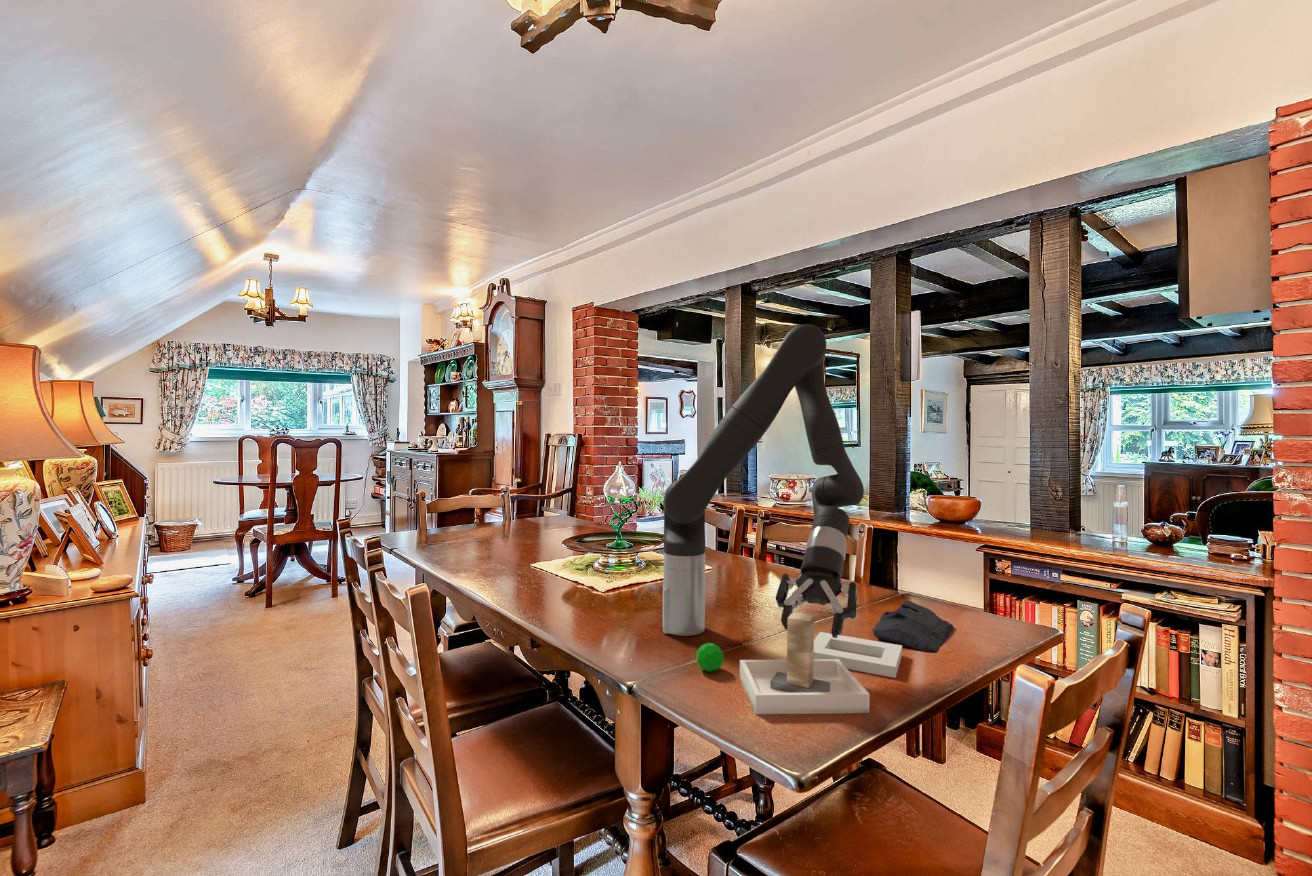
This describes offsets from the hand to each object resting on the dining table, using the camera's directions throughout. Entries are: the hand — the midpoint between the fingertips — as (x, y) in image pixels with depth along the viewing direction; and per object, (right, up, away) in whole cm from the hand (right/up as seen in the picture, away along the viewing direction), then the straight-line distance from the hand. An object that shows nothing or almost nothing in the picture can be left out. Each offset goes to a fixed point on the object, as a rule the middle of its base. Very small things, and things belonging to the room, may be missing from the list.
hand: (809, 631), depth 105 cm
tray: (-3, -9, -6) cm, 11 cm away
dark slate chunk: (+29, -9, +25) cm, 39 cm away
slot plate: (+11, -8, +10) cm, 17 cm away
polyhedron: (-17, -9, +4) cm, 20 cm away
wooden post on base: (-3, -8, -6) cm, 10 cm away
